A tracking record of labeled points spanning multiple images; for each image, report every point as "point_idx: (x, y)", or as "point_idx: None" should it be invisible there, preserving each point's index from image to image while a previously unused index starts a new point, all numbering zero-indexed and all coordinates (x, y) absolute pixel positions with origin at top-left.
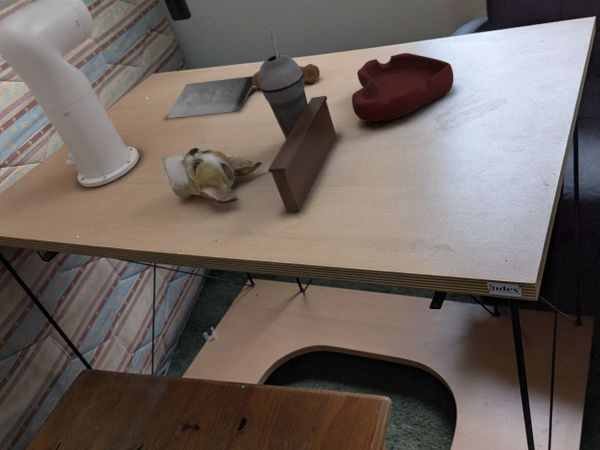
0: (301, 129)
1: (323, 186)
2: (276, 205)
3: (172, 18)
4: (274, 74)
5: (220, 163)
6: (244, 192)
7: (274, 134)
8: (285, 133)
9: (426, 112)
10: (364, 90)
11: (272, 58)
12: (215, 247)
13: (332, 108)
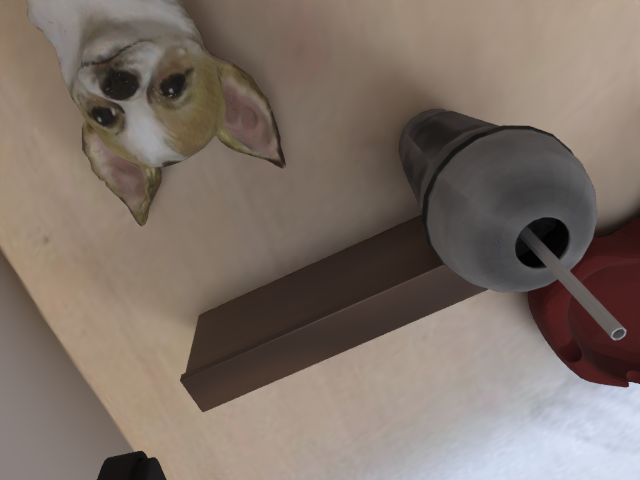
0: (352, 333)
1: None
2: (205, 275)
3: (104, 471)
4: (467, 270)
5: (165, 161)
6: (201, 158)
7: (456, 7)
8: (405, 158)
9: None
10: (621, 263)
11: (571, 191)
12: (32, 256)
13: (613, 98)
